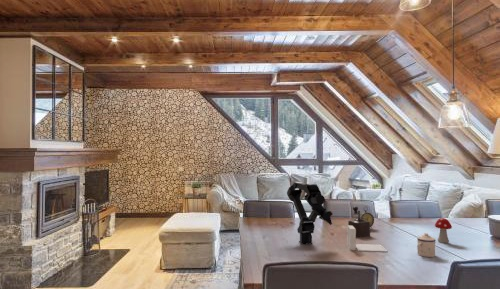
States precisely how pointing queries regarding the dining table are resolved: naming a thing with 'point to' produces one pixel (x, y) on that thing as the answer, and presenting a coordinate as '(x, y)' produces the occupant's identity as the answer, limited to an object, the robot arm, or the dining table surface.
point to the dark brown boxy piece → (360, 225)
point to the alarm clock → (367, 217)
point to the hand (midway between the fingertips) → (331, 224)
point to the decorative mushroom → (443, 230)
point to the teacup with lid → (426, 245)
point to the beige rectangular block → (351, 237)
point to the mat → (370, 248)
